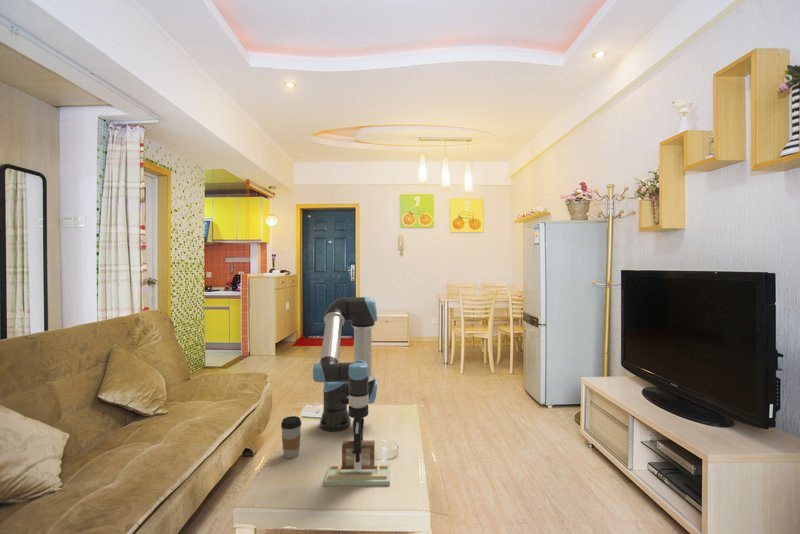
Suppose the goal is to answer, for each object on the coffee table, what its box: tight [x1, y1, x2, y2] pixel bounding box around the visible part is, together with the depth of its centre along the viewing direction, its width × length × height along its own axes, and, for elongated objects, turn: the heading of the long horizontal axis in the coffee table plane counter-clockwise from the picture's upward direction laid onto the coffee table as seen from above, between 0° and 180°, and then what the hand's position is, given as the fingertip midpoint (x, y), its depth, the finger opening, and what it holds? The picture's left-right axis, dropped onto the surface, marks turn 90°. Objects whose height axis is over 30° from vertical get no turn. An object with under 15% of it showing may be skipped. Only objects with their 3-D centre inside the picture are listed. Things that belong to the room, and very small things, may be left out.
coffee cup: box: [280, 415, 302, 459], centre depth 164 cm, size 8×8×15 cm
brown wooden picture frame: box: [341, 439, 376, 469], centre depth 148 cm, size 4×12×9 cm, turn 91°
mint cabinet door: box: [323, 463, 391, 487], centre depth 148 cm, size 12×24×3 cm, turn 91°
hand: (358, 465), depth 148 cm, fingers closed on brown wooden picture frame, 4 cm apart
